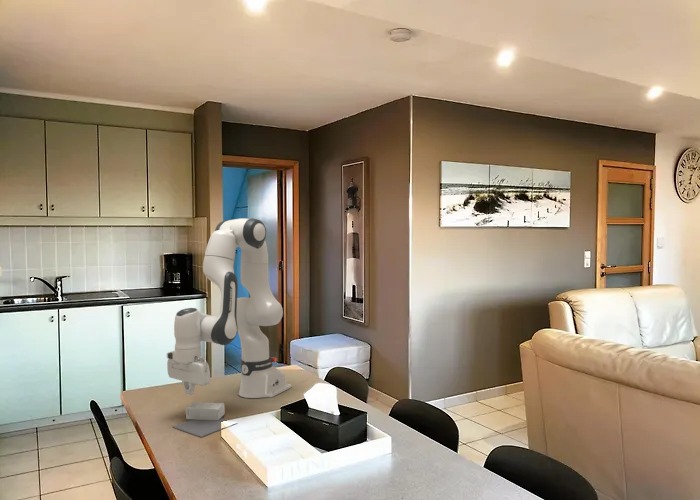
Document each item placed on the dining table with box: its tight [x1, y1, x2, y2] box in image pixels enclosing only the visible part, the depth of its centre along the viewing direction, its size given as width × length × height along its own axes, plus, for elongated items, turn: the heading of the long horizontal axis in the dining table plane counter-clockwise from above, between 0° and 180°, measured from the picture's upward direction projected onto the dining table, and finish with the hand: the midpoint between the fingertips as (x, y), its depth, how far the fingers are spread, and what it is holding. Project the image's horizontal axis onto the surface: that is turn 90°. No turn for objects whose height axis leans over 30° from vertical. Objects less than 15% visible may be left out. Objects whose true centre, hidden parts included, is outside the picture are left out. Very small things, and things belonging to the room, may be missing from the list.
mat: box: [172, 417, 228, 439], centre depth 182 cm, size 15×16×1 cm
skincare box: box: [185, 401, 226, 420], centre depth 189 cm, size 6×4×12 cm
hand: (189, 393), depth 188 cm, fingers closed
